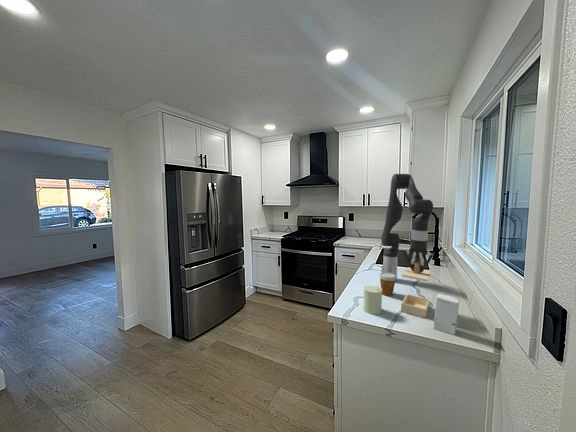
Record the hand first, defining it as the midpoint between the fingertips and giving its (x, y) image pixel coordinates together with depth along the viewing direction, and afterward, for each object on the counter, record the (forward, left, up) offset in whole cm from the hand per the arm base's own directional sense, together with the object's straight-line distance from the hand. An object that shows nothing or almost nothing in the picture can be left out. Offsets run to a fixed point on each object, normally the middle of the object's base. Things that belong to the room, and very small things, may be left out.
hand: (417, 271), depth 123 cm
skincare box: (+14, -12, -21) cm, 28 cm away
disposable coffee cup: (-17, +11, -21) cm, 29 cm away
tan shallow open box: (0, 0, -21) cm, 21 cm away
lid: (0, 0, -2) cm, 2 cm away
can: (-18, -14, -21) cm, 31 cm away
